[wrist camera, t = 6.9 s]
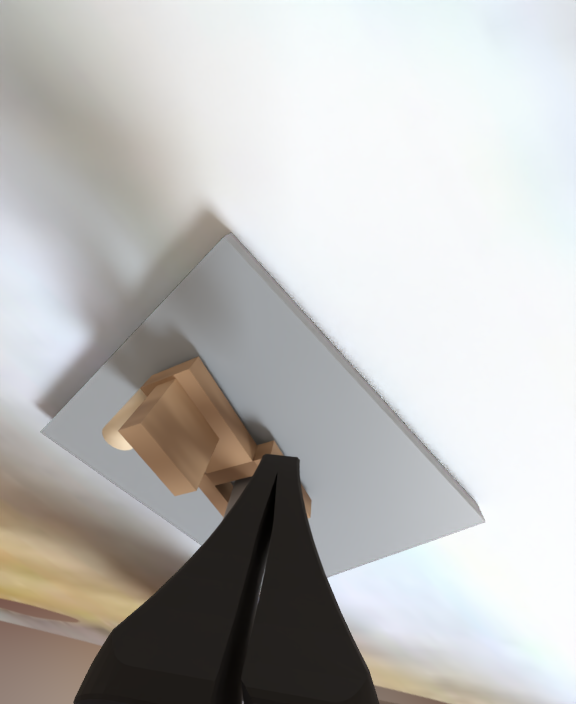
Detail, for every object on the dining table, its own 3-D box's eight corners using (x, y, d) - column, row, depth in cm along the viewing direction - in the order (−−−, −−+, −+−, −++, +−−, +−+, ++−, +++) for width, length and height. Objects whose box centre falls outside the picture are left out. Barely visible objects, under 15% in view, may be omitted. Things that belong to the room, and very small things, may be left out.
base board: (276, 580, 28) (261, 682, 22) (54, 419, 22) (-44, 503, 16) (477, 504, 20) (532, 626, 15) (231, 232, 14) (167, 264, 9)
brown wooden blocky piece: (311, 500, 20) (306, 577, 16) (240, 515, 21) (220, 588, 18) (216, 348, 16) (178, 404, 12) (136, 381, 17) (79, 439, 13)
